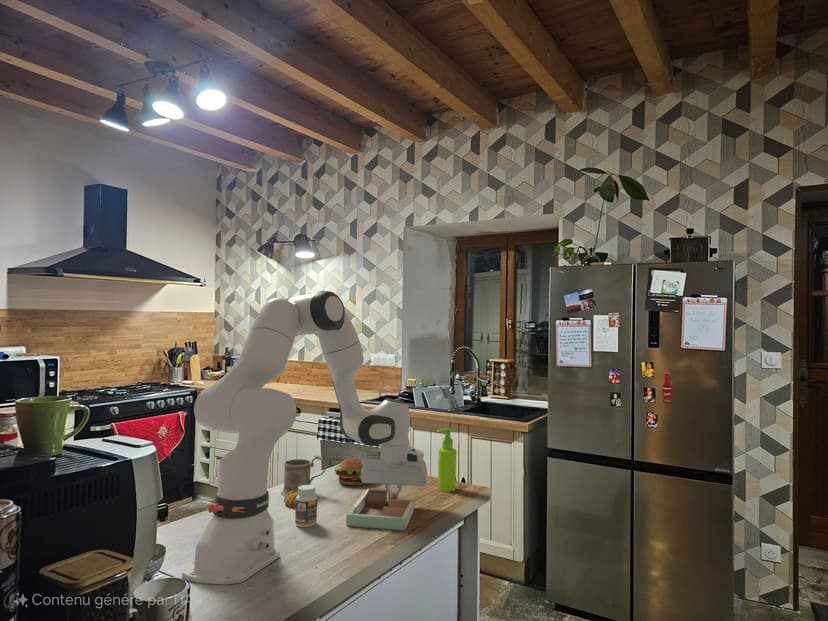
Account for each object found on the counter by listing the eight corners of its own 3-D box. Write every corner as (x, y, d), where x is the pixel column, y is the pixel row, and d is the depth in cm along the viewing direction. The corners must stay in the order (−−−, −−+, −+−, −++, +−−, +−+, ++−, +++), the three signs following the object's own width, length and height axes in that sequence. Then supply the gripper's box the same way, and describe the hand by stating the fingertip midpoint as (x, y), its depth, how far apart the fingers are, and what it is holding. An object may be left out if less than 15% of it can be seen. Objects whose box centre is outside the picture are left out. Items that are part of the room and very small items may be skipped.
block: (384, 507, 167) (384, 494, 167) (366, 506, 167) (366, 493, 167) (386, 501, 172) (387, 488, 172) (369, 501, 172) (369, 488, 173)
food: (346, 474, 202) (346, 452, 203) (380, 479, 197) (381, 456, 197) (325, 483, 190) (326, 460, 190) (362, 489, 184) (363, 465, 185)
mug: (275, 496, 175) (277, 457, 175) (288, 487, 185) (289, 450, 185) (319, 499, 172) (320, 460, 173) (330, 490, 182) (331, 453, 182)
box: (404, 530, 148) (405, 518, 148) (346, 525, 151) (346, 514, 151) (417, 502, 172) (418, 492, 172) (367, 498, 174) (367, 488, 174)
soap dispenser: (432, 488, 187) (433, 428, 187) (450, 486, 190) (451, 426, 190) (440, 493, 181) (441, 431, 182) (458, 490, 184) (459, 430, 185)
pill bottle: (311, 528, 148) (312, 491, 148) (291, 526, 149) (292, 489, 149) (319, 521, 153) (320, 485, 154) (300, 519, 155) (301, 483, 155)
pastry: (319, 507, 166) (319, 494, 166) (300, 513, 161) (301, 499, 161) (298, 500, 172) (299, 487, 172) (280, 505, 167) (281, 492, 167)
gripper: (358, 453, 168) (357, 499, 168) (426, 457, 165) (425, 504, 165) (363, 448, 174) (362, 493, 174) (428, 452, 171) (427, 497, 171)
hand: (393, 498), depth 169 cm, fingers closed
